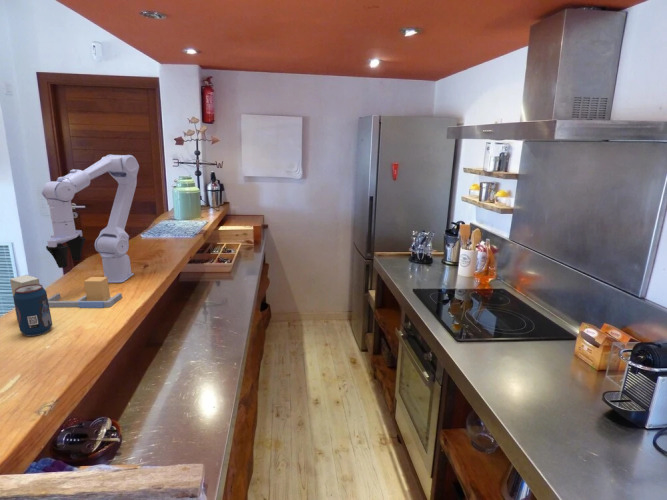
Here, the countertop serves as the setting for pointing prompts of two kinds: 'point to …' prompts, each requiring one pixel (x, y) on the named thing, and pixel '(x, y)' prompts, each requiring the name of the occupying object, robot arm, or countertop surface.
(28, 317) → the soda can
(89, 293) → the tan cardboard-colored block
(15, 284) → the skincare box
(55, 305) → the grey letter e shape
